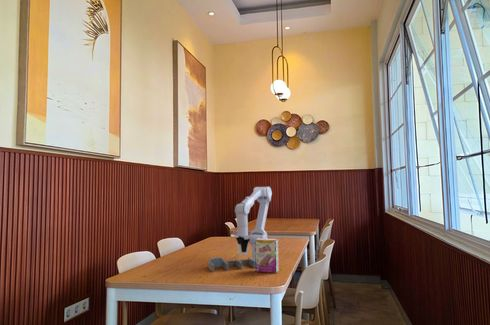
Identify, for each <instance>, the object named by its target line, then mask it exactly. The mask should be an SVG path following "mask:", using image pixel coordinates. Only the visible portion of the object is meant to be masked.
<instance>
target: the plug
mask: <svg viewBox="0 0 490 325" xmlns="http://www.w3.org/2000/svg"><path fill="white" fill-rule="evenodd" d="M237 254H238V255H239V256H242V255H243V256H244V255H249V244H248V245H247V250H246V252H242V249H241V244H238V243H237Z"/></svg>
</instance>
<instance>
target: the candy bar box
mask: <svg viewBox="0 0 490 325" xmlns="http://www.w3.org/2000/svg"><path fill="white" fill-rule="evenodd" d="M255 265H256V268H255V272H257V273H270V274H277V273H278V272H279V270H280V269H279V266H280V265H279V239H277V238H267V239H262V238H258V239H255Z"/></svg>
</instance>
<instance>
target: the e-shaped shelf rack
mask: <svg viewBox="0 0 490 325" xmlns="http://www.w3.org/2000/svg"><path fill="white" fill-rule="evenodd" d="M243 265H245V266H246V265H249V266H250V267H251V268H253V269H256V265H255V261H254V260H253V259H252V257H248V258H245V259H238V258H235V259H233V260H225V259H223V257H221V256H220V257H210V259H209V260H208V262H207V268H208V269H209V270H210V271H211V272H212V273H214V272H215V268H223V269H224V270H225V271H226V272H228V271H230V270H229V269H230V268H229V267H231V266H236V267H237V268H238V269H239V270H243Z"/></svg>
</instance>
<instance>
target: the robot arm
mask: <svg viewBox="0 0 490 325" xmlns="http://www.w3.org/2000/svg"><path fill="white" fill-rule="evenodd" d="M272 195H273V192H272V188H271V187H270V186H254V188H253V192H252V193H251V194H250V195H249V196H245V198H244V199H243V200H242V201H241V202H240V203H237V204H236V205H235V207H234V214H235V218H236V226H237V228H236V230H237V233H236V234H235V235H234V236H236V238H235V239H236V241H237V244H241V249H242V252H246V250H247V245H248V246H249V245H250V247H251V259H253V260H254V261H255V239H258V238H262V239H268V232H267V231H266V230H265V227H266V226H265V225H266V222H267V221H266V220H267V215H268V210H269V204H270V202H271V201H272ZM255 201H257V202H258V203H259V208H258V213H257V218H256V222H255V223H256V224H255V227H254V228H253V229H251V231H250V234H249V228H248V227H249V226H248V224H249V222H248V220H249V219H248V214H249V213H250V210H251V208H252V207H253V206H254V204H255Z"/></svg>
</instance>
